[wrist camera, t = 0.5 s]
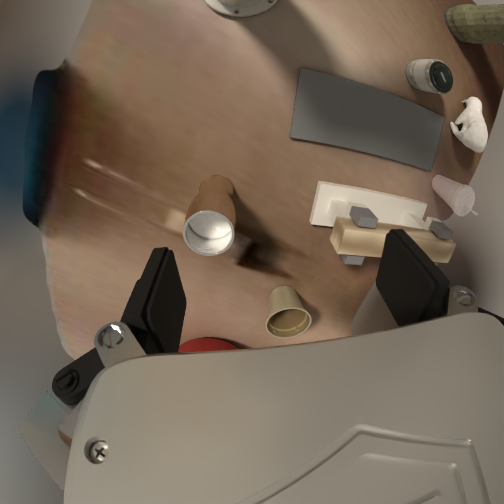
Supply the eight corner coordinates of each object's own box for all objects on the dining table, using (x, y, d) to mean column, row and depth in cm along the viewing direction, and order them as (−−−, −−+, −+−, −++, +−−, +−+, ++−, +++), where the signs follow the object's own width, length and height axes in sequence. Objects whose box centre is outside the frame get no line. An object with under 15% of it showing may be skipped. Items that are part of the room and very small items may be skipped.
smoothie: (422, 188, 47) (463, 220, 35) (436, 163, 44) (480, 190, 32) (438, 200, 48) (477, 233, 37) (451, 177, 45) (493, 205, 34)
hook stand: (318, 180, 46) (344, 214, 35) (423, 201, 48) (461, 233, 37) (309, 220, 50) (329, 262, 39) (411, 233, 53) (443, 270, 42)
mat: (300, 68, 35) (301, 67, 34) (441, 116, 38) (444, 117, 37) (289, 136, 41) (290, 137, 41) (428, 170, 45) (430, 171, 44)
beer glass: (209, 164, 43) (196, 199, 31) (244, 184, 46) (246, 226, 33) (189, 197, 47) (172, 242, 34) (223, 215, 49) (218, 265, 36)
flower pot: (286, 272, 57) (293, 300, 50) (311, 294, 61) (320, 322, 54) (253, 296, 60) (255, 325, 53) (280, 315, 64) (284, 343, 57)
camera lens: (415, 96, 36) (440, 101, 30) (398, 67, 34) (423, 67, 27) (434, 82, 34) (460, 86, 28) (419, 54, 31) (445, 54, 25)
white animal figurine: (472, 143, 33) (485, 91, 27) (444, 135, 40) (457, 88, 35) (488, 159, 34) (500, 109, 29) (460, 149, 41) (473, 104, 36)
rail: (336, 216, 39) (345, 229, 35) (445, 233, 41) (456, 244, 38) (329, 239, 41) (337, 253, 38) (437, 250, 43) (447, 263, 40)
